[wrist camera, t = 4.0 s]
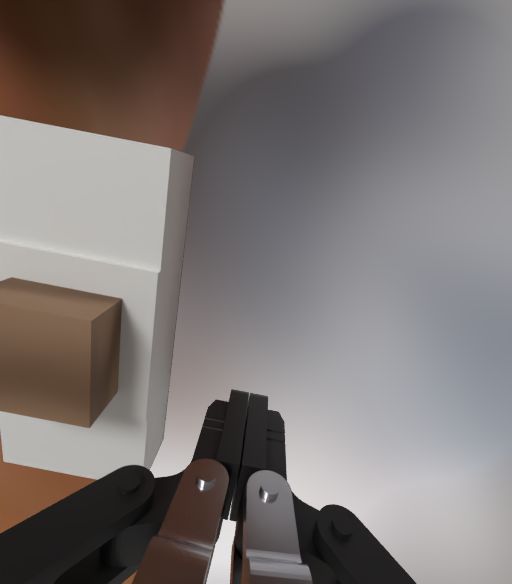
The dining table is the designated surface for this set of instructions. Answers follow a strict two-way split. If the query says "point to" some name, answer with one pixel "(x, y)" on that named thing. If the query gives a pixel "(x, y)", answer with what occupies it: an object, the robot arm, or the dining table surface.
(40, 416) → the walnut block
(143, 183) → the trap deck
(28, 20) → the dining table surface
